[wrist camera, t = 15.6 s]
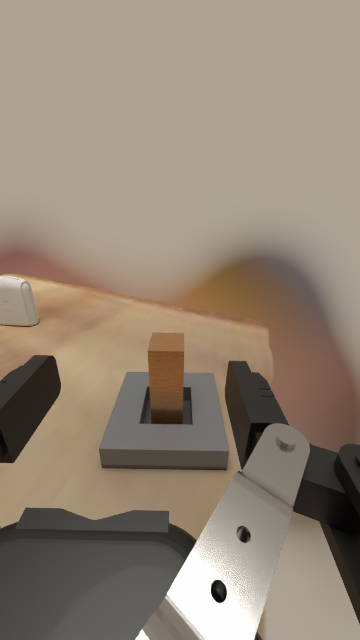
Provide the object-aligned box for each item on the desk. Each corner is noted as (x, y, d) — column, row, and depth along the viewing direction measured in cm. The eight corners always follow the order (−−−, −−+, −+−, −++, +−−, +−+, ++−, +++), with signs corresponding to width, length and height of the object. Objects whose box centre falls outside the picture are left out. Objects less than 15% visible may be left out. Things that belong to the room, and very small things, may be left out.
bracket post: (151, 430, 31) (147, 350, 27) (155, 405, 35) (152, 332, 31) (182, 431, 31) (183, 351, 26) (182, 406, 35) (184, 333, 31)
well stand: (102, 467, 27) (98, 448, 26) (128, 387, 40) (126, 371, 39) (226, 469, 27) (228, 451, 26) (212, 388, 40) (213, 373, 39)
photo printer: (-6, 325, 62) (-21, 277, 57) (7, 319, 66) (-6, 274, 61) (31, 328, 61) (18, 279, 56) (42, 321, 65) (31, 275, 60)
